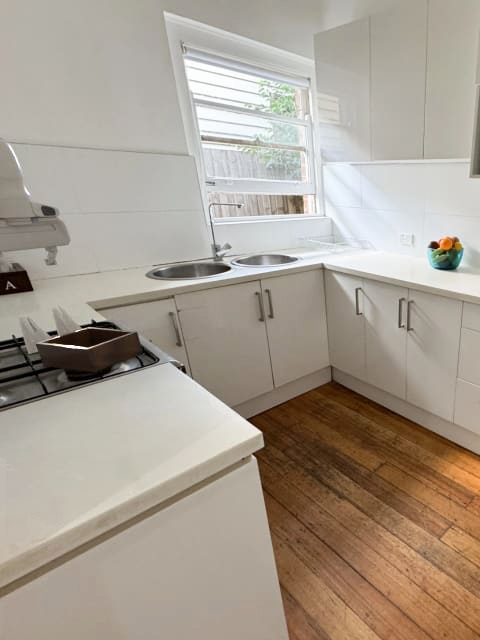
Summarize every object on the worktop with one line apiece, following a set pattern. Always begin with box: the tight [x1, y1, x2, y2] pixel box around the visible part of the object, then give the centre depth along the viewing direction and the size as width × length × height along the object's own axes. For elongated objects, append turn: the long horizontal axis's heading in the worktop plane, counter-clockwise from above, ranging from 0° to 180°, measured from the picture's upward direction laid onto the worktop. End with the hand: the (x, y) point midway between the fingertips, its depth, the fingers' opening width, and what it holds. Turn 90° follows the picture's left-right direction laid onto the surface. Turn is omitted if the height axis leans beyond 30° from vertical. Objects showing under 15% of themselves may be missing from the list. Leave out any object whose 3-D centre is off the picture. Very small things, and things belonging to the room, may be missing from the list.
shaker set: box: [18, 305, 83, 355], centre depth 100 cm, size 12×4×11 cm, turn 126°
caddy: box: [35, 326, 144, 373], centre depth 94 cm, size 13×16×6 cm
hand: (30, 268), depth 95 cm, fingers open, 8 cm apart
